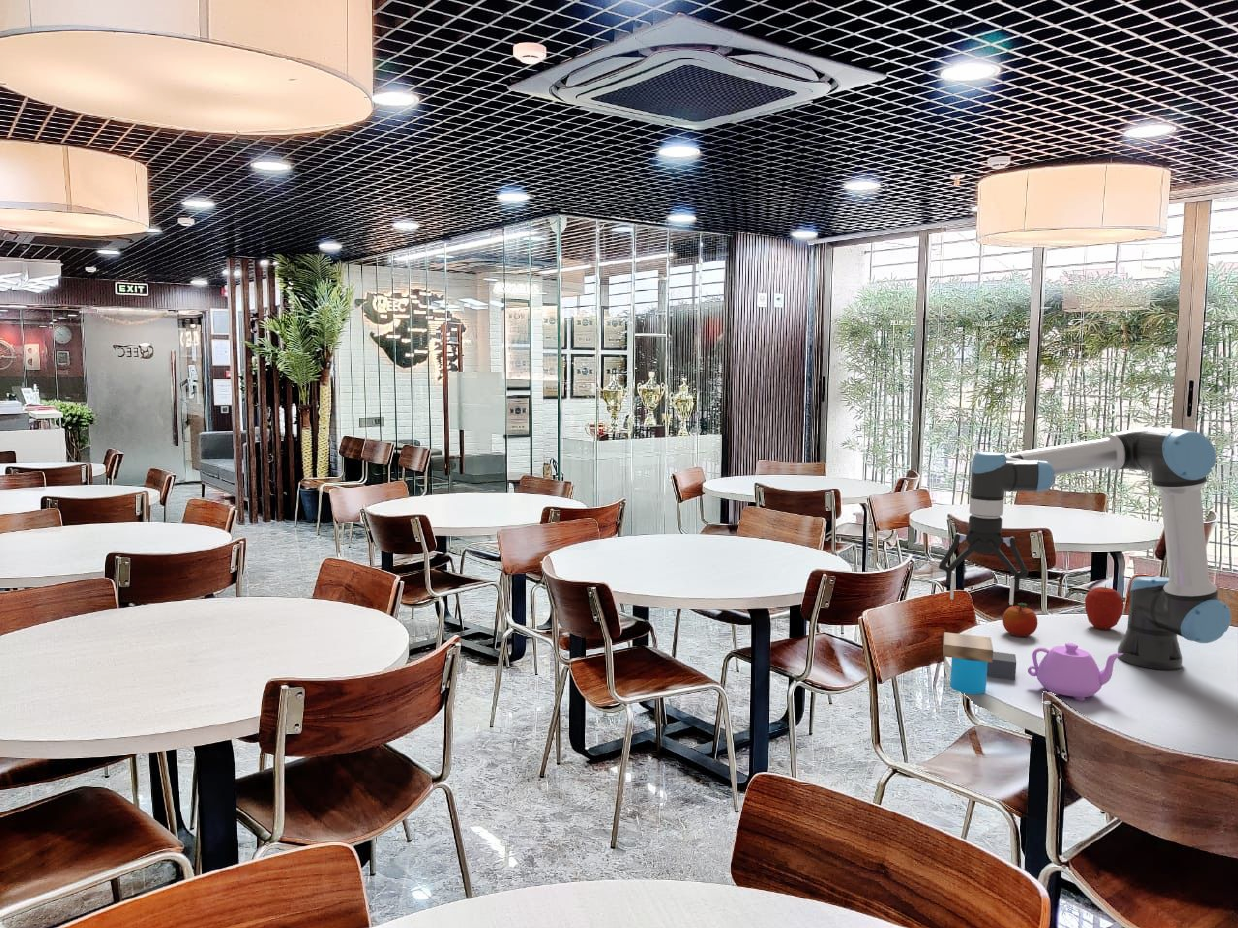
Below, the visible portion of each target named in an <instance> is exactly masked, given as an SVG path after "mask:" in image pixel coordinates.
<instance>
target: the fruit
mask: <svg viewBox="0 0 1238 928" xmlns="http://www.w3.org/2000/svg"><path fill="white" fill-rule="evenodd" d="M1027 605H1028V604H1027V603H1024V602H1019V603H1017V605H1014V606H1013V605H1011V606H1009V607H1008V608H1006V609H1005V611H1004V612H1003V614H1002V619H1001V620H1002V626H1003V628H1004V630H1005V631H1006V632H1007V633H1009V634H1010V635H1012V636H1014V637H1022V638H1023V637H1024V638H1027V637H1029V636H1031V635H1033V633H1035V631H1036V629H1037V628H1038V618H1037V614H1036V613H1035V612H1034V610H1033V609H1031V608H1028V607H1027Z"/></svg>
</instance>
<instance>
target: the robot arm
mask: <svg viewBox="0 0 1238 928" xmlns="http://www.w3.org/2000/svg"><path fill="white" fill-rule="evenodd" d="M1216 461H1217V452H1216V449H1215V447H1214V444H1213V443H1212V442H1211V440H1210V439H1209V438H1208V437H1207V436H1205V435H1203V433H1200V432H1197V431H1193V430H1190V429H1185V428H1182V429H1181V428H1170V427H1169V428H1167V427H1161V426H1144V427H1139V428H1133V429H1129V430H1123V431H1119V432H1113V433H1107V434H1105V435H1104V436H1103V437H1101V438H1100V439H1094V440H1087V441H1080V442H1076V443H1068V444H1063V445H1057V446H1056V445H1055V446H1050V447H1049V446H1048V447H1043V448H1037V449H1031V450H1023V451H1017V452H1011V453H1010V452H1009V453H1003V452H996V451H994V452H993V451H992V452H991V451H978V452H976V453H975V454H973V457H972V463H971V470H970V472H971V475H970V476H971V477H970V480H971V481H970V498H969V500H970V501H969V514H971V515H970V516H969V517H968V518H969V519H968V532H967V534H963V533H960V532H955V533H954V538H953V541H952V543H951V545H950V546H949V548H948V549H947V551H946V553H945V555H944V556H943V558H942V560H941V561H940V563H938V564H939V565H938V568H939V569H940V570H943V572H944V571H945V584H946V586H950V595H949V599H950V600H954V592H955V591H954V590H955V576H956V575H955V573H956V571H954V570H955V569H956V568H957V567H958V566H959V565H960V564H961V563H962V562H963V561H964V560H965V559H966V558H968V557H969V556H970V555H971V554H972V553H973V552H974V553H976V554H978V555H979V554H984V555H992V554H995V555H996V556H997V557H998V558H999V560H1000V561H1001V563H1003V565H1004V566H1005V567H1006V569H1007V570H1008V571H1009V572H1010V574H1011V575H1012V576H1010V581H1009V582H1010V584H1009V599H1008V603H1009V606H1013V605H1014V598H1015V596H1014V594H1015V592H1019V590H1020V581H1021V580H1020V579H1022V578H1025V577H1028V576H1029V572H1028V569H1027V567H1026V565H1025V564H1024V560H1023V559H1022V557H1021V555H1020V552H1019V550H1018V549H1017V546H1016V538H1015V536H1013V535H1011V536H1010V537H1003V535H1002V533H1003V531H1002V530H1003V518H1002V517H1001V516H1003V512H1004V500H1005V498H1004V497H1005V496H1004V495H1005V492H1008V493H1009V492H1033V493H1037V492H1046V491H1048V490H1050V489H1052V487H1053V485H1054V483H1055V477H1056V476H1061V475H1068V474H1073V473H1074V474H1075V473H1081V472H1087V471H1093V470H1100V469H1106V468H1108V469H1110V470H1111V471H1119V470H1136V471H1143V472H1149V473H1150V475H1151V483H1152V484H1151V485H1152V486H1153V487H1154V488H1155V489H1157V490H1159V493H1160V502H1161V511H1162V521H1163V531H1164V541H1165V551H1166V559H1167V571H1168V577H1164V576H1163V577H1162V576H1137V577H1134V578H1133V579H1132V580H1131V583H1130V589H1129V601H1128V602H1129V603H1128V617H1127V628H1126V630H1125V633H1124V635H1123V637H1122V639H1121V641H1120V643H1119V645H1118V648H1117V653H1123V654H1122V655H1120V656H1119V657H1117V659H1119V660H1121V661H1123V662H1125V663H1128V664H1131V665H1133V666H1138V667H1142V668H1145V669H1146V668H1147V669H1153V670H1161V671H1164V670H1165V671H1166V670H1167V671H1168V670H1170V671H1172V670H1179V669H1182V667H1183V655H1182V651H1181V648H1180V643H1179V641H1178V636H1179V637H1182V638H1184V639H1186V640H1187V641H1191V642H1196V643H1198V644H1209V643H1213V642H1216V641H1217V640H1219V639H1221V638H1222V637H1223V636H1224V634H1225V633H1226V632H1227V631H1228V629H1229V627H1230V624H1231V621H1232V612H1231V610H1230V608H1229V606H1228V605H1226V603H1225V602H1223V601H1221V600H1220V599H1219V592H1218V591H1219V590H1218V586H1217V584H1215V582H1214V583H1213V582H1212V581H1211V580H1210V576H1209V575H1210V573H1209V561H1208V554H1207V543H1206V532H1205V523H1204V522H1205V521H1204V511H1203V501H1202V492H1201V489H1202V487H1204V486H1205V484H1207V483H1208V478H1207V477H1208V476H1209V475H1210V474H1211V472H1212V471H1213V468H1214V467H1215V465H1216V463H1217V462H1216ZM964 541H966V542H967V543H968V546H967V547H966V548H965V549H964V550H963V551H962V552H961V553H960V554H959V555H957V557H956V558H955V559H954V560H953V561H952V562H950V564H948V563H949V561H950V559H951V558H952V556H953V554H955V551H956V550H957V548H958V546H959V545H960V544H961V543H963V542H964ZM1004 543H1005V544H1006V546H1007V547H1010V550H1011V553H1012V555H1013V557H1014V559H1015V561H1016V563H1017V565H1018V567H1019V569H1020V571H1018V569H1016V567H1015V566H1014V565H1013V564H1012V562H1011V561H1010V560H1009V559H1008V558H1007V557H1006V555H1005V554H1004V553H1003V551H1002V550H1001V548H1000V547H1001V546H1002V545H1003V544H1004Z"/></svg>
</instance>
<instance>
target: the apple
mask: <svg viewBox="0 0 1238 928" xmlns="http://www.w3.org/2000/svg"><path fill="white" fill-rule="evenodd" d="M1084 604H1085V605H1084V606H1085V608H1084V609H1085V612H1086V616H1087V619H1088V622H1089V623H1090V624H1091V625H1092V626H1093V627H1094V628H1095V629H1098V630H1101V631H1109V630H1111V629H1112V628H1114V627H1115V626H1117V625H1118V623H1119V621H1120V619H1121V617H1122V614H1123V611H1124V602H1123V599H1122V595H1121V594H1120V593H1119V592H1118V590H1116V589H1114V588H1111V587H1107V584H1105V586H1098V587H1093V588H1092V589H1090V590H1089V591H1088V593H1087V594H1086V596H1085V598H1084Z"/></svg>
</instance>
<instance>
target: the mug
mask: <svg viewBox="0 0 1238 928" xmlns="http://www.w3.org/2000/svg"><path fill="white" fill-rule="evenodd" d="M950 665H951V666H950V676H949V677H950V680H949V686H950V687H949V688H951V689H953V690H955V691H957V692H960V693H965V694H969V695H978V694H979V695H980V694H983V693H984V694H985V692H986V689H987V677H988V676H987V665H988V662H984V661H976V660H968V659H960V658H951V663H950Z"/></svg>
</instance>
